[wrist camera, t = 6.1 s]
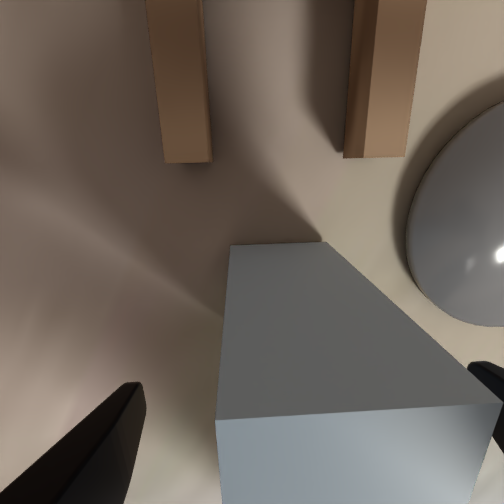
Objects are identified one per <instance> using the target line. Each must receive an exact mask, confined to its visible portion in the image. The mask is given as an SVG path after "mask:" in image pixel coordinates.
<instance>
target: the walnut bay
mask: <svg viewBox="0 0 504 504" xmlns="http://www.w3.org/2000/svg"><path fill="white" fill-rule="evenodd" d="M426 4H427V0H355V5H354V18H353V31H352V45H351V58H350V71H349V85H348V98H347V111H346V125H345V138H344V151H343V158H376V157H405V151H406V144H407V137H408V130H409V123H410V116H411V109H412V102H413V95H414V88H415V81H416V74H417V67H418V60H419V53H420V46H421V39H422V32H423V25H424V18H425V11H426ZM145 5H146V13H147V21H148V29H149V37H150V46H151V54H152V62H153V70H154V78H155V87H156V95H157V103H158V111H159V119H160V128H161V136H162V144H163V152H164V160H165V163H198V162H213V151H212V136H211V122H210V107H209V92H208V78H207V63H206V48H205V33H204V19H203V4H202V0H145Z"/></svg>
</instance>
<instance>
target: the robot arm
mask: <svg viewBox="0 0 504 504" xmlns="http://www.w3.org/2000/svg"><path fill="white" fill-rule="evenodd" d="M467 370H468V371H469V372H470V373H471V374H473V375H474V376H475V377H476V378H477V379H478V380H479V381H480V382H481V383H482V384H484V385H485V386H486V387H487V388H488V389H489V390H490V391H491V392H492V393H493V394H495V395H496V396H497V397H498V398H499V399H500V400H501V401H502V402H503V405H502V408H501V411H500V414H499V417H498V419H497V422H496V425H495V428H494V431H493V434H492V437H493V438H494V440H495V441H496V443H497V444H498V446H499V447H500V449H501V450H502V452H503V453H504V368H502V367H499V366H497V365H495V364H493V363H490V362H487V361H476V362H471V363H470V364H469V365H468V367H467ZM145 416H146V401H145V396H144V391H143V386H142V384H141V383H140V382H127V383H124V384H123V385H121V386H120V387H119V388H118V389H117V390H116V391H115V392H113V393H112V394H111V395H110V396H109V397H108V398H107V399H106V400H104V401H103V402H102V403H101V404H100V405H99V406H98V407H97V408H95V409H94V410H93V411H92V412H91V413H90V414H89V415H87V416H86V417H85V418H84V419H83V420H82V421H81V422H80V423H78V424H77V425H76V426H75V427H74V428H73V429H72V430H71V431H69V432H68V433H67V434H66V435H65V436H64V437H63V438H62V439H60V440H59V441H58V442H57V443H56V444H55V445H54V446H52V447H51V448H50V449H49V450H48V451H47V452H46V453H45V454H43V455H42V456H41V457H40V458H39V459H38V460H37V461H36V462H34V463H33V464H32V465H31V466H30V467H29V468H28V469H26V470H25V471H24V472H23V473H22V474H21V475H20V476H19V477H17V478H16V479H15V480H14V481H13V482H12V483H11V484H10V485H8V486H7V487H6V488H5V489H4V490H3V491H2V492H0V504H123V503H124V500H125V497H126V494H127V491H128V488H129V484H130V481H131V477H132V473H133V469H134V464H135V460H136V456H137V451H138V447H139V443H140V438H141V434H142V429H143V425H144V421H145Z"/></svg>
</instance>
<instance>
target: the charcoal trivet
mask: <svg viewBox="0 0 504 504" xmlns="http://www.w3.org/2000/svg"><path fill="white" fill-rule="evenodd" d="M405 239H406V255H407V260H408V265H409V268H410V271H411V274H412V276H413V278H414V280H415V282H416V284H417V286H418V288H419V289H420V290H421V291H422V293H423V294H424V295H425V296H426V297H427V298H428V299H429V300H430V301H431V302H432V303H433V304H434V305H436V306H437V307H438V308H440V309H441V310H443V311H444V312H446V313H447V314H449V315H450V316H452V317H454V318H456V319H458V320H461V321H463V322H466V323H470V324H474V325H479V326H487V327H504V101H502V102H500V103H498V104H496V105H494V106H492V107H490V108H489V109H487V110H486V111H484V112H483V113H481V114H480V115H478V116H477V117H475V118H474V119H473V120H471V121H470V122H469V123H468V124H467V125H466V126H464V127H463V128H462V129H461V130H460V131H458V132H457V134H456V135H455V136H454V137H453V138H452V139H451V140H450V141H449V142H448V143H447V144H446V145H445V146H444V147H443V149H442V150H441V151H440V153H439V154H438V155H437V156H436V158H435V159H434V160H433V162H432V163H431V165H430V167H429V168H428V170H427V171H426V173H425V175H424V176H423V178H422V180H421V182H420V185H419V187H418V189H417V191H416V193H415V196H414V199H413V202H412V205H411V207H410V212H409V216H408V221H407V227H406V238H405Z"/></svg>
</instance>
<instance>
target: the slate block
mask: <svg viewBox="0 0 504 504" xmlns="http://www.w3.org/2000/svg"><path fill="white" fill-rule="evenodd" d="M502 405H503V402H502V401H501V400H500V399H499V398H498V397H497V396H496V395H495V394H493V393H492V392H491V391H490V390H489V389H488V388H487V387H486V386H485V385H484V384H482V383H481V382H480V381H479V380H478V379H477V378H476V377H475V376H474V375H473V374H471V373H470V372H469V371H468V370H467V369H466V368H465V367H464V366H463V365H462V364H460V363H459V362H458V361H457V360H456V359H455V358H454V357H453V356H452V355H451V354H449V353H448V352H447V351H446V350H445V349H444V348H443V347H442V346H441V345H440V344H438V343H437V342H436V341H435V340H434V339H433V338H432V337H431V336H430V335H428V334H427V333H426V332H425V331H424V330H423V329H422V328H421V327H420V326H419V325H417V324H416V323H415V322H414V321H413V320H412V319H411V318H410V317H409V316H408V315H406V314H405V313H404V312H403V311H402V310H401V309H400V308H399V307H398V306H397V305H395V304H394V303H393V302H392V301H391V300H390V299H389V298H388V297H387V296H386V295H384V294H383V293H382V292H381V291H380V290H379V289H378V288H377V287H376V286H374V285H373V284H372V283H371V282H370V281H369V280H368V279H367V278H366V277H365V276H363V275H362V274H361V273H360V272H359V271H358V270H357V269H356V268H355V267H354V266H352V265H351V264H350V263H349V262H348V261H347V260H346V259H345V258H344V257H343V256H341V255H340V254H339V253H338V252H337V251H336V250H335V249H334V248H333V247H332V246H330V245H329V244H328V243H327V242H308V243H281V244H255V245H230V256H229V267H228V278H227V289H226V301H225V312H224V323H223V335H222V346H221V357H220V369H219V380H218V391H217V402H216V414H215V427H216V438H217V450H218V461H219V472H220V483H221V495H222V504H468V503H469V500H470V497H471V495H472V492H473V489H474V486H475V483H476V480H477V477H478V474H479V471H480V469H481V466H482V463H483V460H484V457H485V454H486V451H487V448H488V445H489V443H490V440H491V437H492V434H493V431H494V428H495V425H496V422H497V419H498V417H499V414H500V411H501V408H502Z"/></svg>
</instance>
